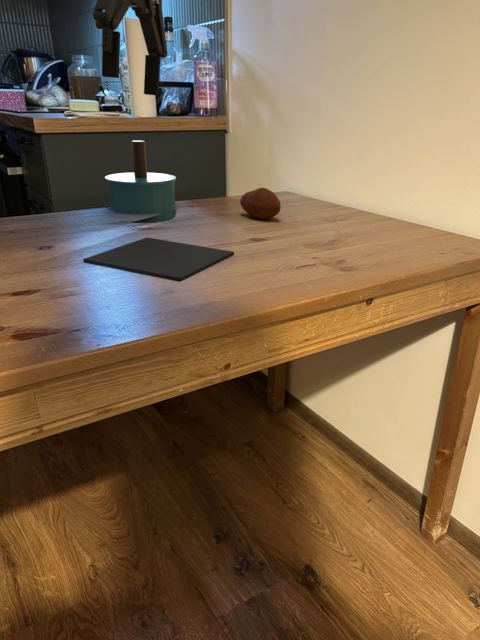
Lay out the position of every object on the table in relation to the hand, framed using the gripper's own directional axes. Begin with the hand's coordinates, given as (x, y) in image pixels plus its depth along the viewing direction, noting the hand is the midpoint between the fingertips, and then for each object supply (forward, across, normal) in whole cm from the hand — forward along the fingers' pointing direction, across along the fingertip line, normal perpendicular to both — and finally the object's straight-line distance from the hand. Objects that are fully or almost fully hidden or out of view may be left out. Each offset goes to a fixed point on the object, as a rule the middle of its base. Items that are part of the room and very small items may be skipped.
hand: (132, 86), depth 88 cm
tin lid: (+16, +12, +4) cm, 20 cm away
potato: (+20, +23, -20) cm, 36 cm away
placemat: (+27, -13, -14) cm, 33 cm away
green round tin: (+23, +14, +4) cm, 27 cm away
